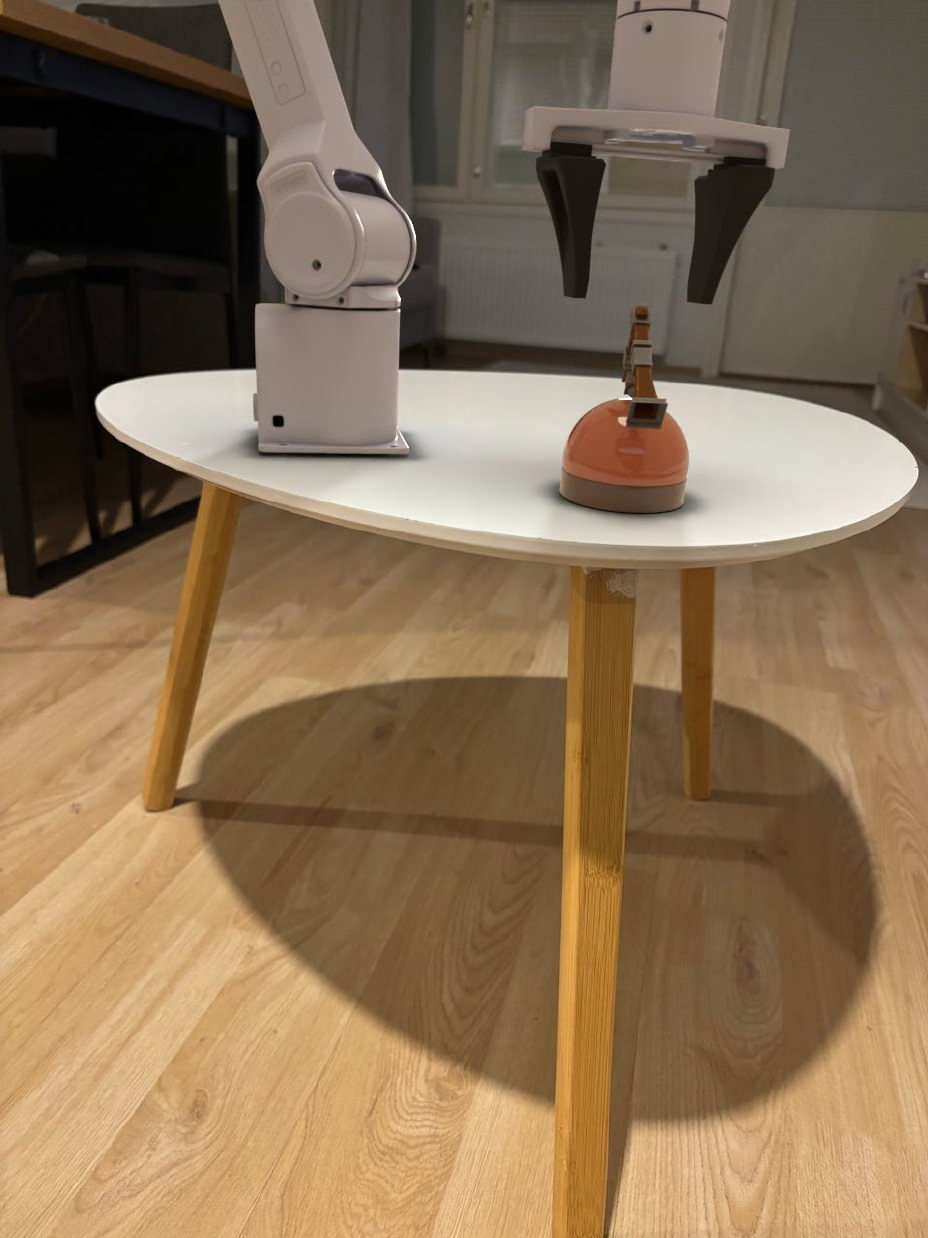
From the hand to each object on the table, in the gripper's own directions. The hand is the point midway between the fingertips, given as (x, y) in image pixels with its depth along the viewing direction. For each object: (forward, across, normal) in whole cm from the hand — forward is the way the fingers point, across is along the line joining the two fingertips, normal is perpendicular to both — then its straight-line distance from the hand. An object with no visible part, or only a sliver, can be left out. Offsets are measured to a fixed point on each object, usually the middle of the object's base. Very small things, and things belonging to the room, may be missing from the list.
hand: (637, 300), depth 52 cm
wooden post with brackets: (+5, +2, +6) cm, 8 cm away
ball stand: (+12, +2, +5) cm, 13 cm away
